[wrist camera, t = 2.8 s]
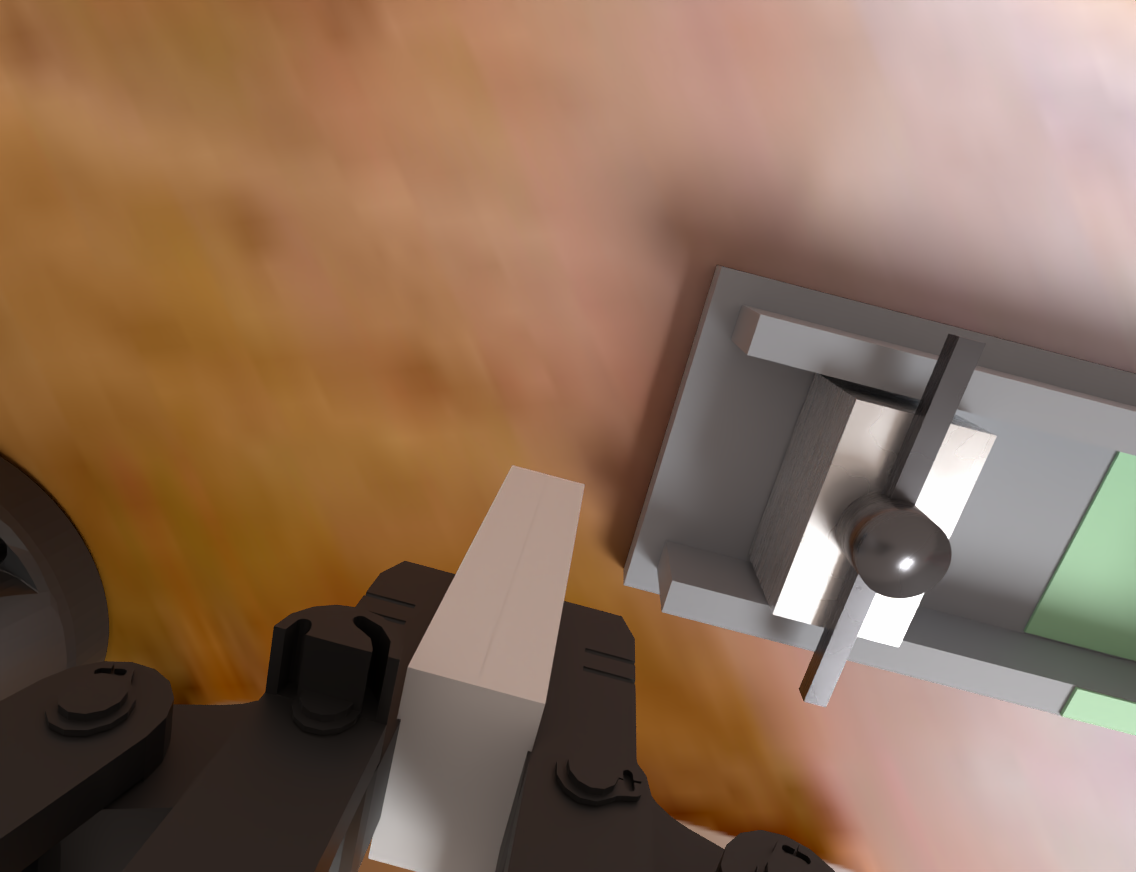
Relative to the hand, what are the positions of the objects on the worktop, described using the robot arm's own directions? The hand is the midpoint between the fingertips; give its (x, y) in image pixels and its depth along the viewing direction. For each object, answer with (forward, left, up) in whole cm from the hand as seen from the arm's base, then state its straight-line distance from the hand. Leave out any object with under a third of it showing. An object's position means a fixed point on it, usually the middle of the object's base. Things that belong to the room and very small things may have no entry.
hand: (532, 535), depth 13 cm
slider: (+10, 0, -10) cm, 14 cm away
